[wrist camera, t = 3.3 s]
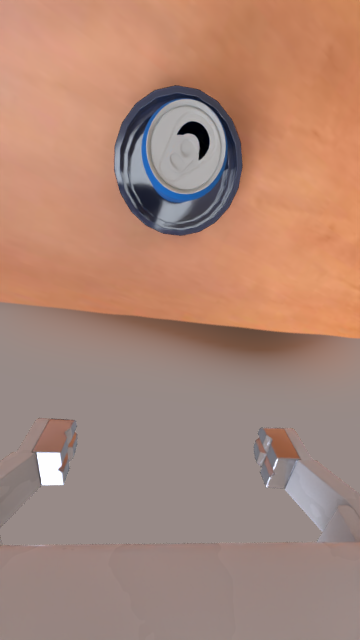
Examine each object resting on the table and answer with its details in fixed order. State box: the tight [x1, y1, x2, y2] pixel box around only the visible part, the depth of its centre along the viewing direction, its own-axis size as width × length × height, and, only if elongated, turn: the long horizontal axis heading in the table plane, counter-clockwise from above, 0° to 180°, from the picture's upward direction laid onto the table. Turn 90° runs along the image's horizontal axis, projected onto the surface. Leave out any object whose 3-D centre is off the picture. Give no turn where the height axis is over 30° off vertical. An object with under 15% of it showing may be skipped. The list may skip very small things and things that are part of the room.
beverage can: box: [141, 98, 228, 203], centre depth 23 cm, size 6×6×12 cm
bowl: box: [114, 85, 243, 236], centre depth 28 cm, size 13×13×3 cm
